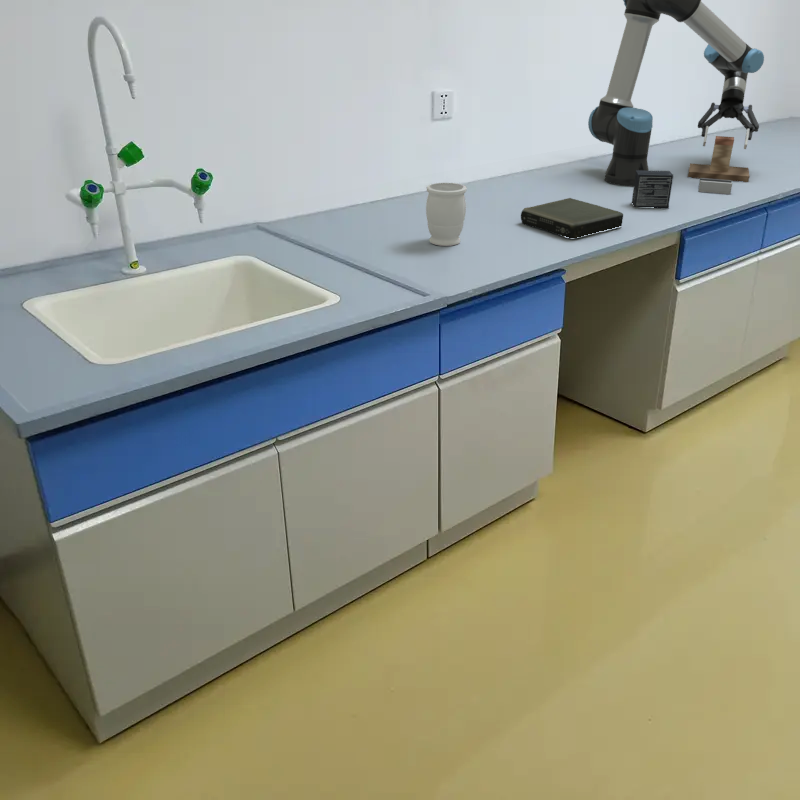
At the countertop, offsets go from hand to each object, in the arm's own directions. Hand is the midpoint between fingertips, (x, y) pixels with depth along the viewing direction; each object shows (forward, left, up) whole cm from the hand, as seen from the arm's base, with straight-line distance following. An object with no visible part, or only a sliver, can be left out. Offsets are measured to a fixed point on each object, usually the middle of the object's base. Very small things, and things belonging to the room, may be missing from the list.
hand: (724, 145), depth 284 cm
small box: (-20, -50, -11) cm, 55 cm away
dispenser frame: (-1, -22, -10) cm, 24 cm away
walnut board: (0, 0, -10) cm, 10 cm away
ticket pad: (0, 0, -8) cm, 8 cm away
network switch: (-40, -80, -11) cm, 90 cm away
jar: (-70, -107, -11) cm, 129 cm away
